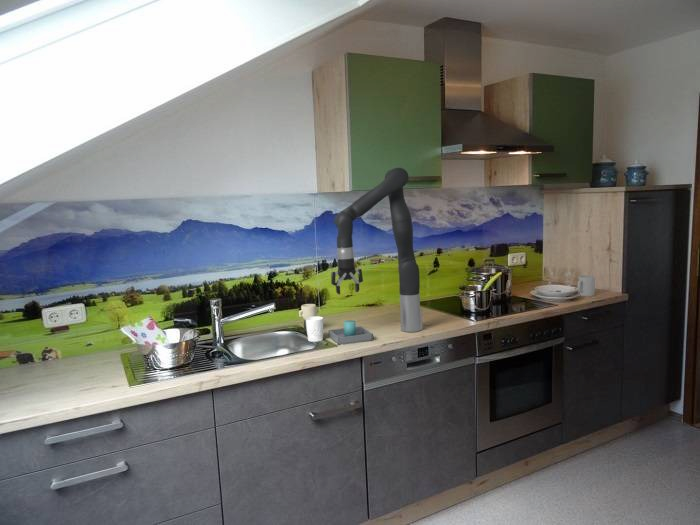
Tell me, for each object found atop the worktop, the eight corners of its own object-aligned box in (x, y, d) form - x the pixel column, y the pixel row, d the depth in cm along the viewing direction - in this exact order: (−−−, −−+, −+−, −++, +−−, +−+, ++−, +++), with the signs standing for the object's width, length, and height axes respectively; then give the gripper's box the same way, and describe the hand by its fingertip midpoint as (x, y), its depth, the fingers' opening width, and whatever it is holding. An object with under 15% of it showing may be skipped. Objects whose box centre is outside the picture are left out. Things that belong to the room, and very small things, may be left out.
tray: (361, 332, 238) (361, 326, 238) (373, 340, 223) (372, 333, 222) (328, 336, 233) (328, 330, 233) (338, 345, 218) (337, 338, 218)
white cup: (326, 337, 231) (325, 316, 230) (321, 342, 224) (319, 320, 223) (310, 337, 233) (309, 316, 232) (304, 342, 226) (302, 320, 225)
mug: (584, 293, 303) (584, 275, 302) (597, 294, 296) (597, 276, 295) (571, 295, 297) (571, 277, 296) (584, 297, 290) (584, 278, 289)
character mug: (315, 328, 250) (314, 302, 249) (323, 330, 245) (322, 304, 243) (296, 332, 244) (294, 306, 242) (304, 335, 238) (302, 308, 237)
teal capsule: (354, 334, 231) (353, 320, 230) (357, 337, 226) (356, 322, 226) (343, 336, 230) (342, 321, 229) (346, 339, 225) (345, 323, 224)
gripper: (357, 255, 233) (360, 290, 235) (328, 258, 228) (330, 293, 230) (363, 256, 226) (365, 292, 227) (332, 259, 221) (335, 296, 223)
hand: (347, 293), depth 229 cm, fingers open, 8 cm apart
